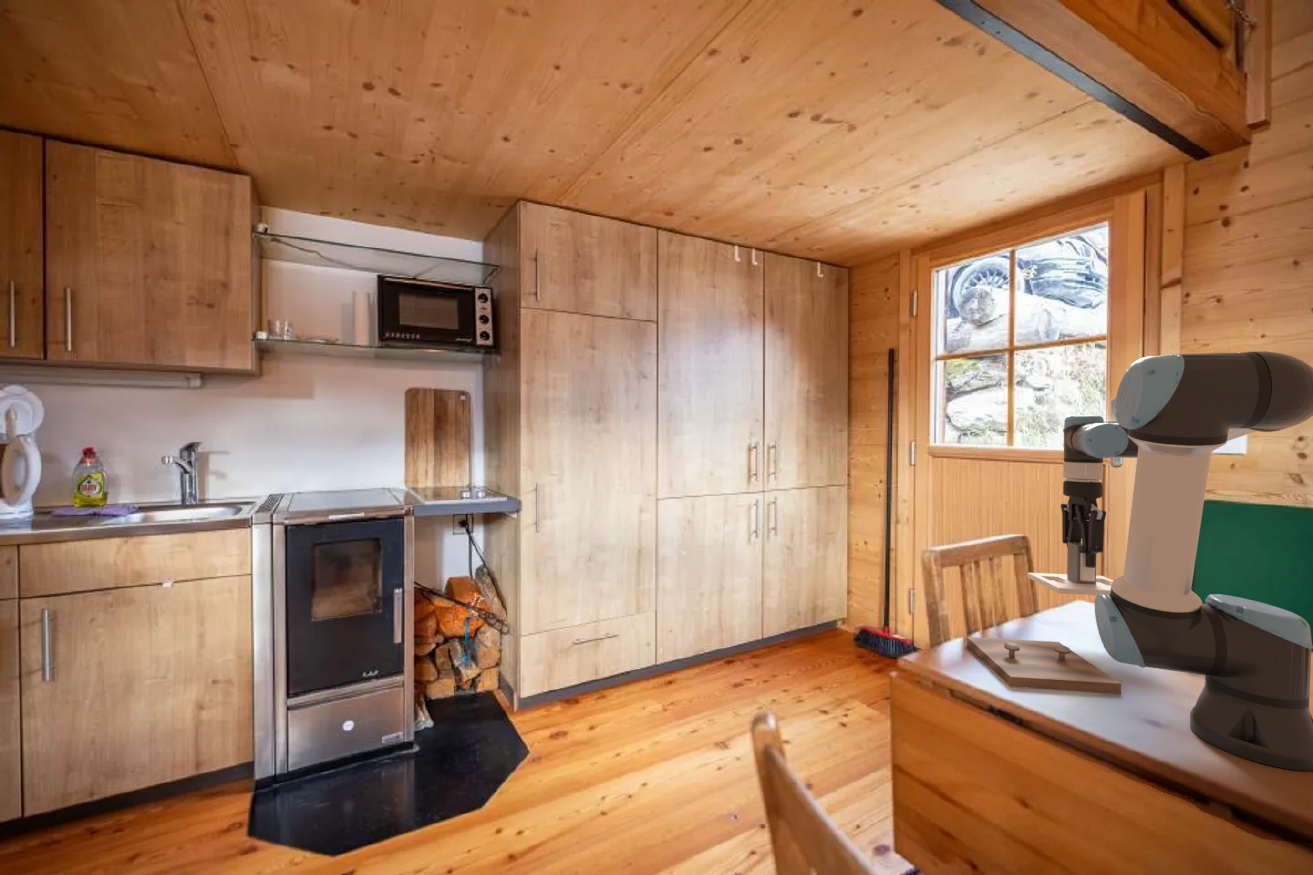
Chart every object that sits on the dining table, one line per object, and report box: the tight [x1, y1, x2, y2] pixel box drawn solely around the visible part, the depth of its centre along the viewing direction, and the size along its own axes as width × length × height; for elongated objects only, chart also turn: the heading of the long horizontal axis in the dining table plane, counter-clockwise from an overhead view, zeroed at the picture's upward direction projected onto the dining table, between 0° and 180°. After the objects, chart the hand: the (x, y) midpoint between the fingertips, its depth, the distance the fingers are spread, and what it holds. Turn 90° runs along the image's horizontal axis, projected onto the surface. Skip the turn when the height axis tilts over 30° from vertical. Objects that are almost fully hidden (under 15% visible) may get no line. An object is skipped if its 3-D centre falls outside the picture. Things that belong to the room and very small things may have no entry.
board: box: [966, 636, 1122, 695], centre depth 119 cm, size 21×20×5 cm
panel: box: [1026, 542, 1115, 596], centre depth 131 cm, size 14×17×10 cm
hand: (1081, 577), depth 131 cm, fingers closed on panel, 4 cm apart
